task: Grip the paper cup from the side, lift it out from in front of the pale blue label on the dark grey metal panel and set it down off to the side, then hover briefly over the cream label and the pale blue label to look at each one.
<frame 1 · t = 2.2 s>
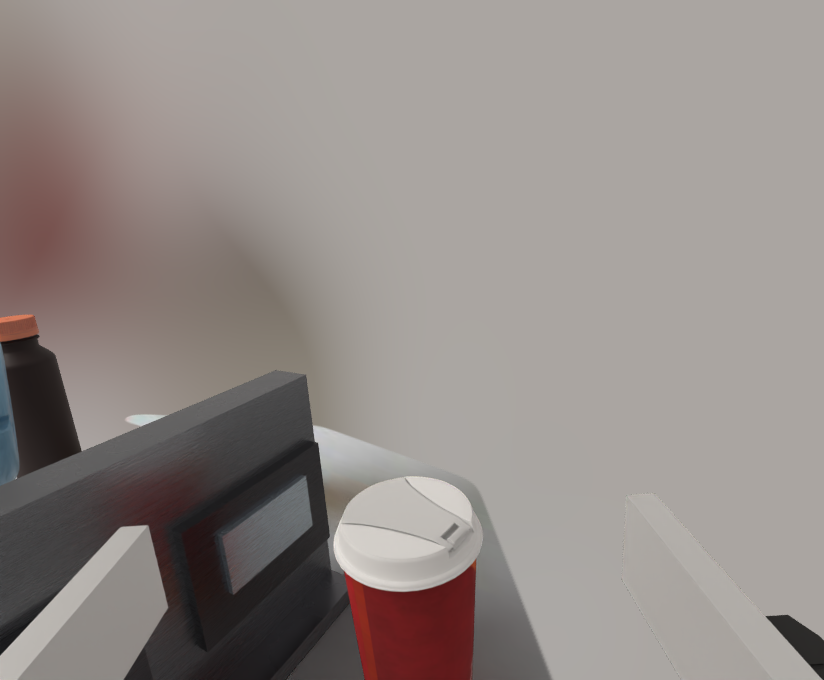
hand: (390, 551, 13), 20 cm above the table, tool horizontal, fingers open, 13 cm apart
bottle: (53, 473, 59), on the table
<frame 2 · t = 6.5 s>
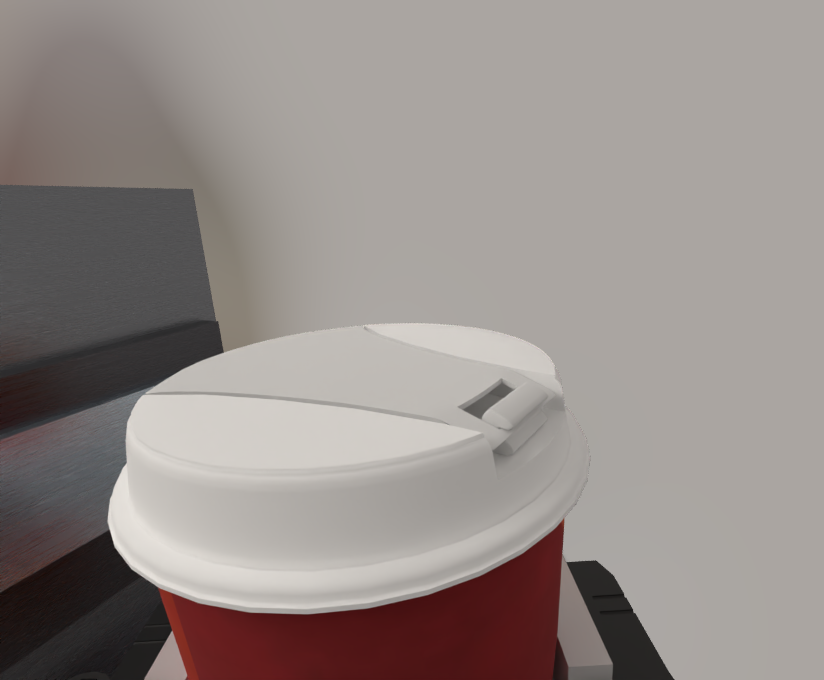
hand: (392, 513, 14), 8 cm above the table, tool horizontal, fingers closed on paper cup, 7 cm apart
when the fingers open (8 cm above the table, at t = 11.8 s): paper cup moves 4 cm, on the table.
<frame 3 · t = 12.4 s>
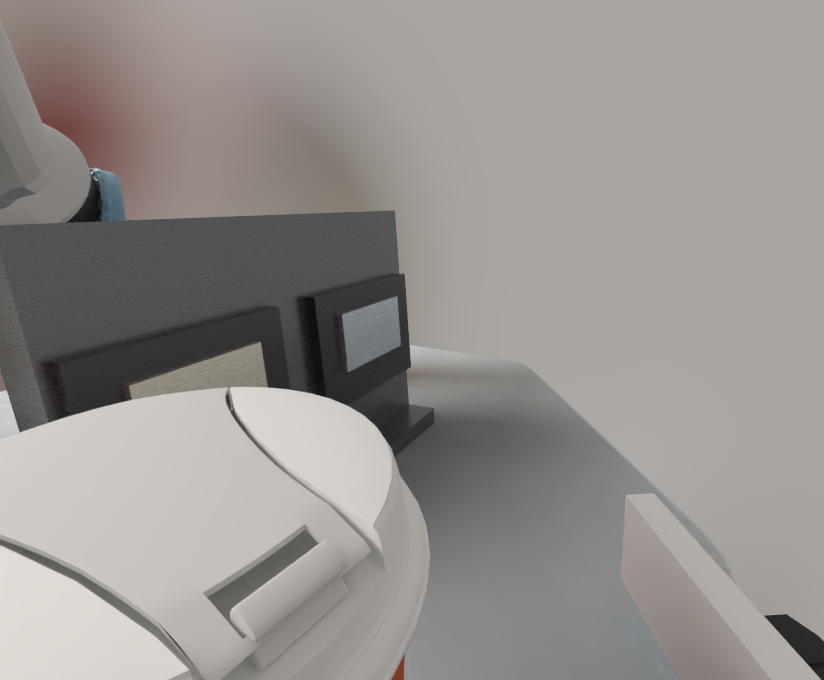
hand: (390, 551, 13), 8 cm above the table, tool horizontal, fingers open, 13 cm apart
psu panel: (296, 487, 32), on the table
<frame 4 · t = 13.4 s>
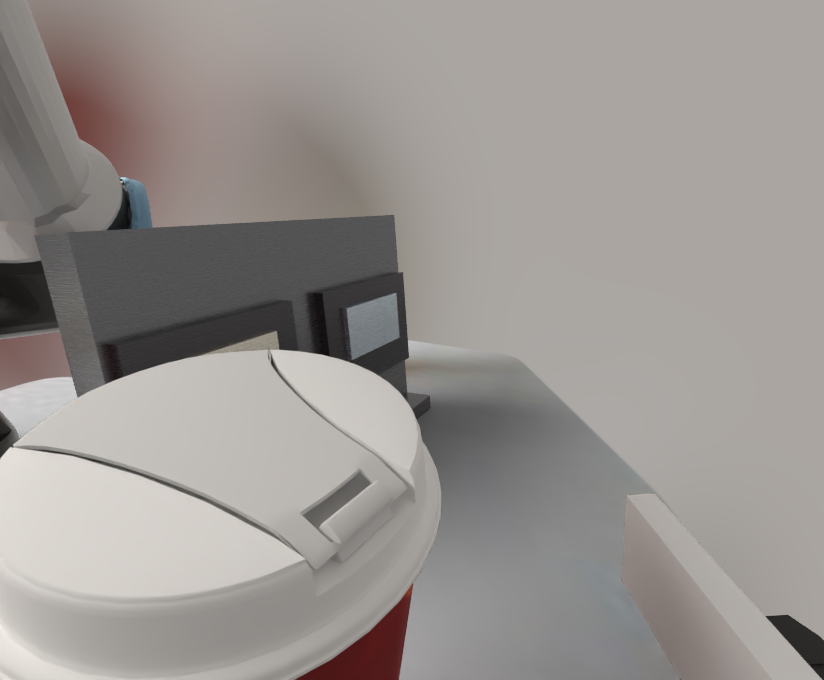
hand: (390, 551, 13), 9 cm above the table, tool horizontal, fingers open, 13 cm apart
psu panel: (305, 463, 36), on the table
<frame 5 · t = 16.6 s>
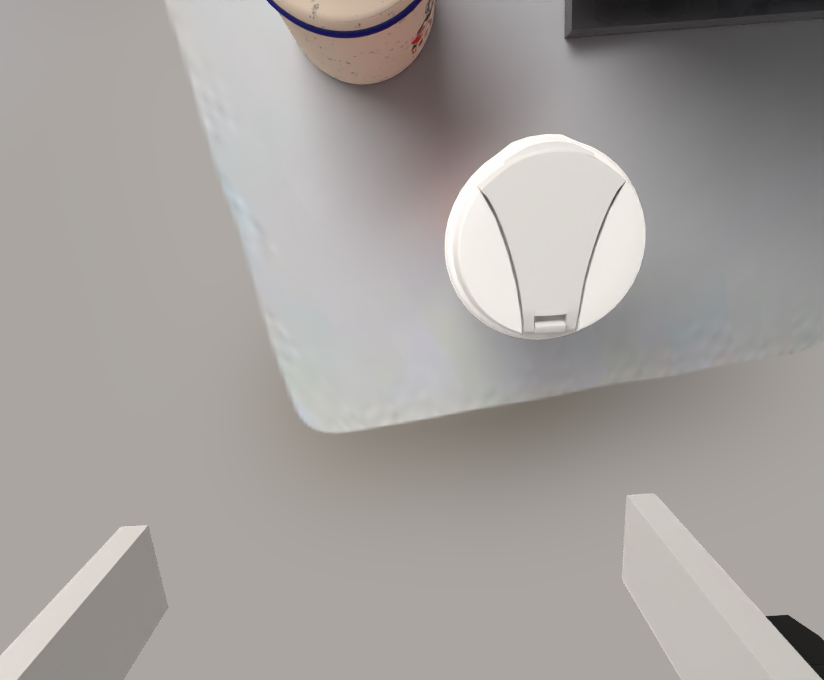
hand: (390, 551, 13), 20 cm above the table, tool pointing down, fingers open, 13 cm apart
paper cup: (495, 227, 30), on the table
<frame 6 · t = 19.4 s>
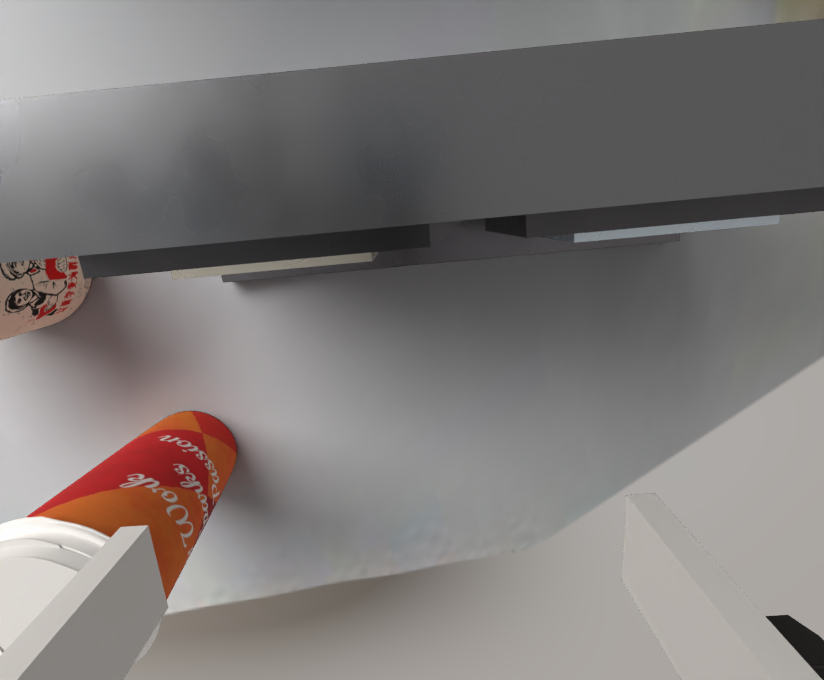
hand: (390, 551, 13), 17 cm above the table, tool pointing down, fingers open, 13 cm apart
paper cup: (195, 447, 31), on the table
teacup with lid: (15, 229, 27), on the table
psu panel: (443, 189, 26), on the table
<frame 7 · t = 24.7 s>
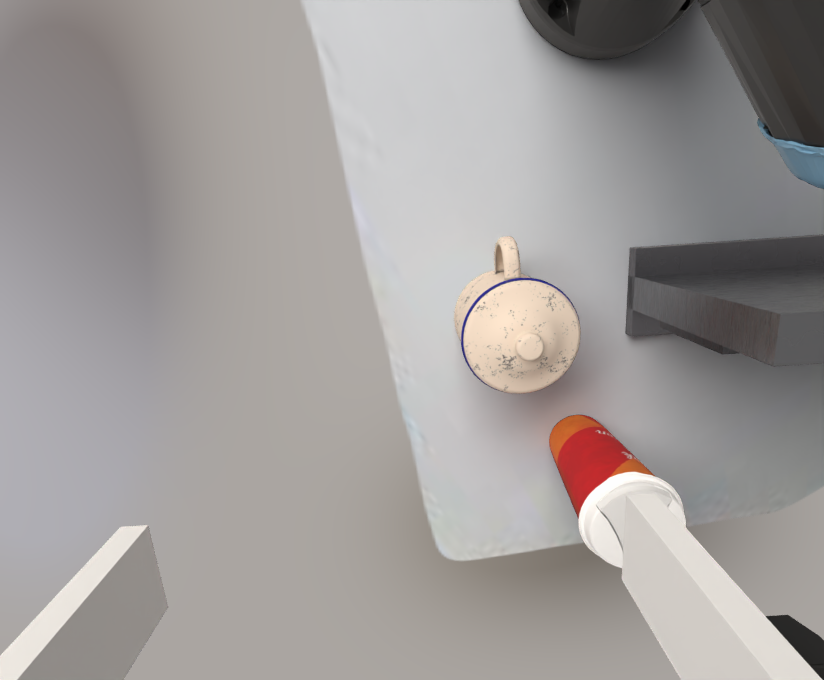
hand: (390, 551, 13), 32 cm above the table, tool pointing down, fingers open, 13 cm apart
paper cup: (575, 438, 47), on the table
teacup with lid: (498, 299, 43), on the table
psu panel: (768, 282, 43), on the table
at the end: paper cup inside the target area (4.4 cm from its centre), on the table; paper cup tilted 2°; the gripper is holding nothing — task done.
